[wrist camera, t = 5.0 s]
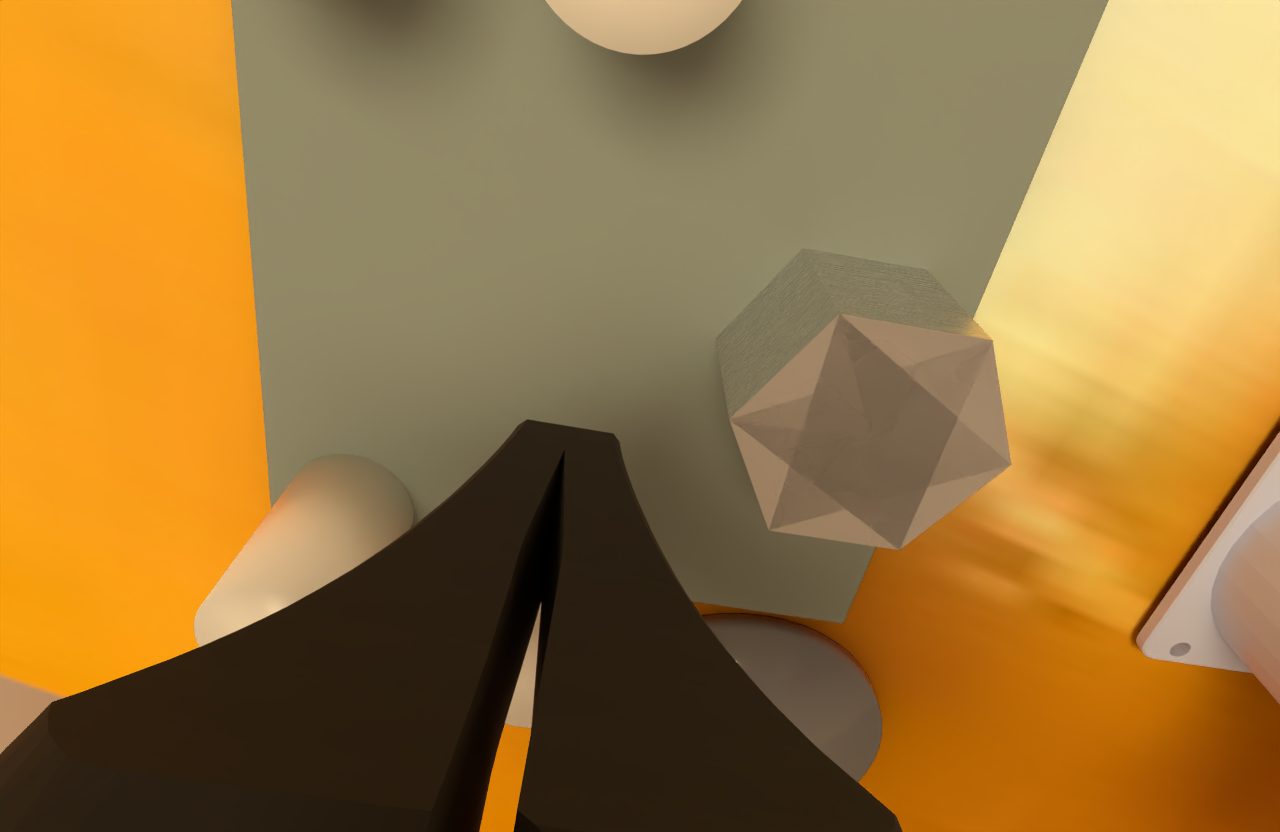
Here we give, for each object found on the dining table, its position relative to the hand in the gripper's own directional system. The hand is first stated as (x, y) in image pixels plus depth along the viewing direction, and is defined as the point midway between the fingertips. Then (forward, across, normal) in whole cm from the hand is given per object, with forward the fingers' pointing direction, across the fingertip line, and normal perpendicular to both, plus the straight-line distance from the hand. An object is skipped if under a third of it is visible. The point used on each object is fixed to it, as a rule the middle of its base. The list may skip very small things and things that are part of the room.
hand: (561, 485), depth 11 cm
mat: (+7, 0, 0) cm, 7 cm away
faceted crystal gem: (+6, -5, 0) cm, 8 cm away
